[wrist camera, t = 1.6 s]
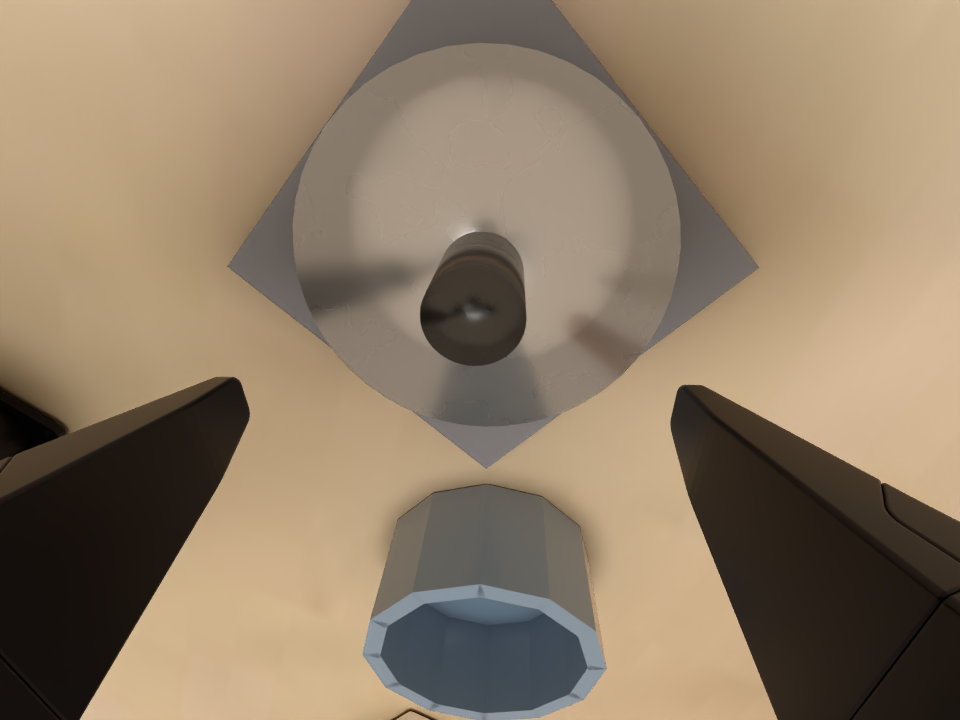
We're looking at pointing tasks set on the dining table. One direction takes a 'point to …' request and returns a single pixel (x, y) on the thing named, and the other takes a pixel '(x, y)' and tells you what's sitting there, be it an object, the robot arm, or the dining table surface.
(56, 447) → the robot arm
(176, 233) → the dining table surface
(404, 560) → the blue bowl
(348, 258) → the lid
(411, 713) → the milk carton
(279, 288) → the mat
